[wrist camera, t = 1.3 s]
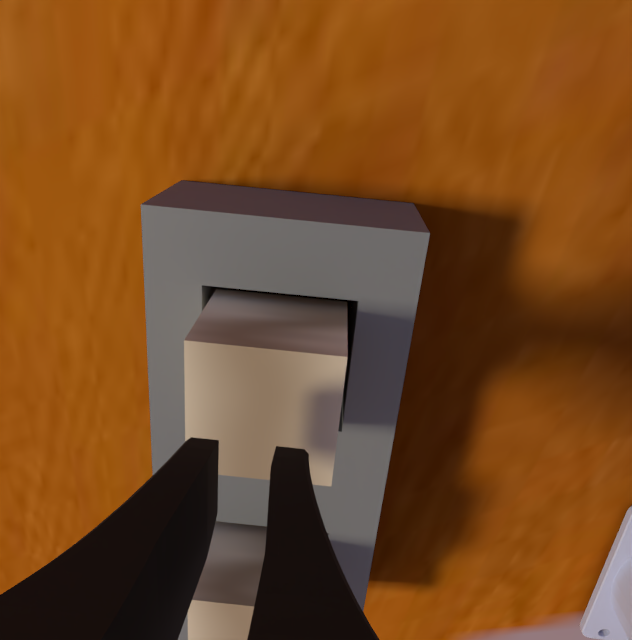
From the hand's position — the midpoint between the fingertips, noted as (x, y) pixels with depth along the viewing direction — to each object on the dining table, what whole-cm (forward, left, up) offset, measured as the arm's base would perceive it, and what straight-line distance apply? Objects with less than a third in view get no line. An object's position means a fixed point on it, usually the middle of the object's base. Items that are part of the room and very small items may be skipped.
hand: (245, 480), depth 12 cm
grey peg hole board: (0, +4, -9) cm, 10 cm away
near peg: (0, 0, -6) cm, 6 cm away
